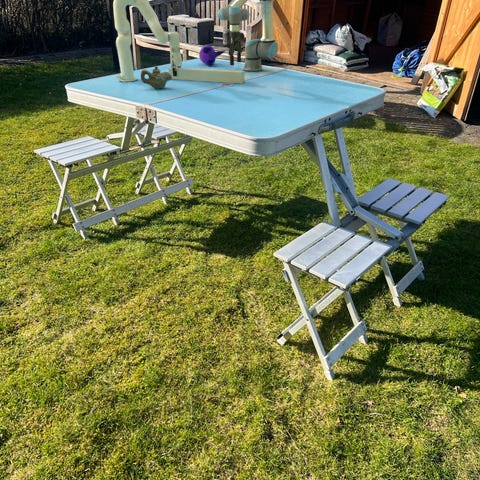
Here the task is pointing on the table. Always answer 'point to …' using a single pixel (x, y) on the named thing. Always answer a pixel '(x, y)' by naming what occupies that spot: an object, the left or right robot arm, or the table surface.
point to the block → (208, 75)
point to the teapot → (155, 78)
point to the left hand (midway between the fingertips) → (177, 75)
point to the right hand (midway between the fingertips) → (235, 63)
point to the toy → (209, 55)
